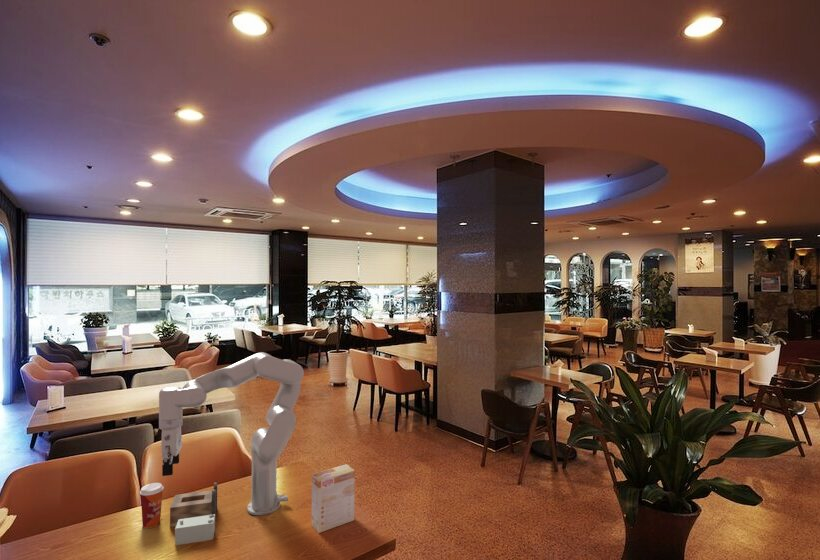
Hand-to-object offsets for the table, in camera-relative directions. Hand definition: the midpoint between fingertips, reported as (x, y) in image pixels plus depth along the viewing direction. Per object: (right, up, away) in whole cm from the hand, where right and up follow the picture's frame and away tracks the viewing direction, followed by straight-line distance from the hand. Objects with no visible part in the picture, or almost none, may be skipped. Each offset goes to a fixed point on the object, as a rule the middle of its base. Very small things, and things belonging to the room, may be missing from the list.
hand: (170, 469), depth 158 cm
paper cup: (-10, -23, +6) cm, 26 cm away
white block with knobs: (+10, -23, -2) cm, 26 cm away
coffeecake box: (+57, -24, +8) cm, 63 cm away
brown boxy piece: (+3, -23, +11) cm, 26 cm away
